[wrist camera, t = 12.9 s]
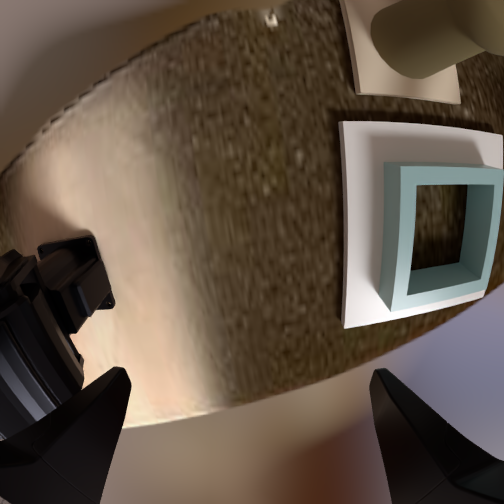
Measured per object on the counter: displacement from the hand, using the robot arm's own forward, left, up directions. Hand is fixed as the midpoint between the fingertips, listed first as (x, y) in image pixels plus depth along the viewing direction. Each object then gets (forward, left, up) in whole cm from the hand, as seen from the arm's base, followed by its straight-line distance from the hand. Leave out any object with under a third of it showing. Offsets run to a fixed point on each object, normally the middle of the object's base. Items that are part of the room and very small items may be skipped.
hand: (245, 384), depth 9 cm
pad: (+13, +15, -13) cm, 24 cm away
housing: (+15, 0, -13) cm, 20 cm away
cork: (+13, +15, -12) cm, 23 cm away
